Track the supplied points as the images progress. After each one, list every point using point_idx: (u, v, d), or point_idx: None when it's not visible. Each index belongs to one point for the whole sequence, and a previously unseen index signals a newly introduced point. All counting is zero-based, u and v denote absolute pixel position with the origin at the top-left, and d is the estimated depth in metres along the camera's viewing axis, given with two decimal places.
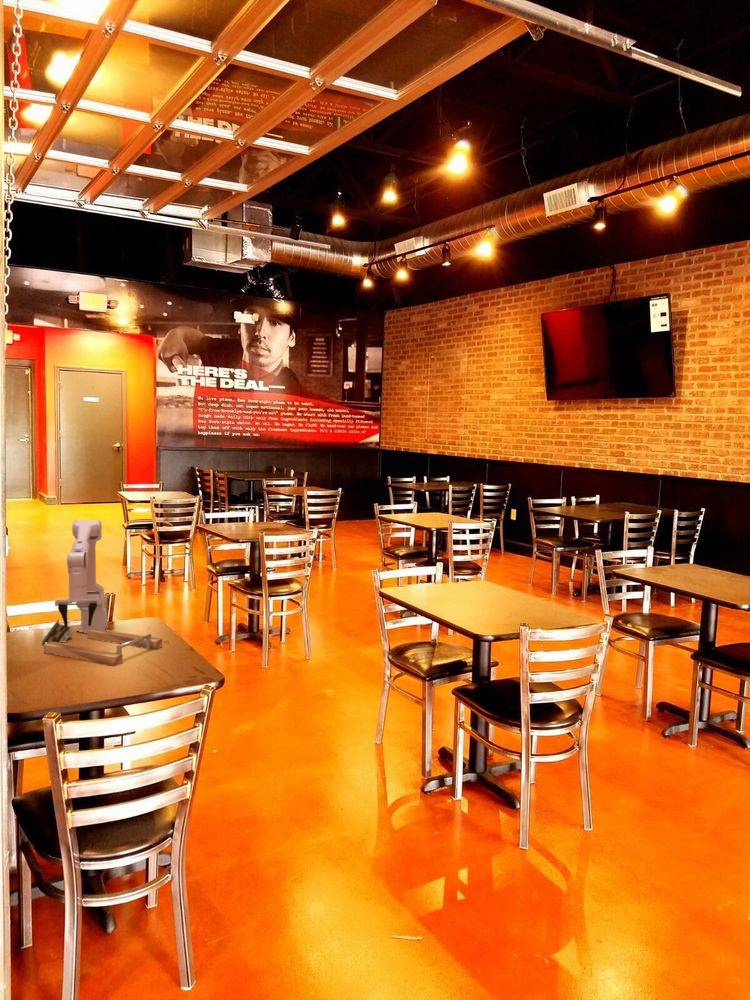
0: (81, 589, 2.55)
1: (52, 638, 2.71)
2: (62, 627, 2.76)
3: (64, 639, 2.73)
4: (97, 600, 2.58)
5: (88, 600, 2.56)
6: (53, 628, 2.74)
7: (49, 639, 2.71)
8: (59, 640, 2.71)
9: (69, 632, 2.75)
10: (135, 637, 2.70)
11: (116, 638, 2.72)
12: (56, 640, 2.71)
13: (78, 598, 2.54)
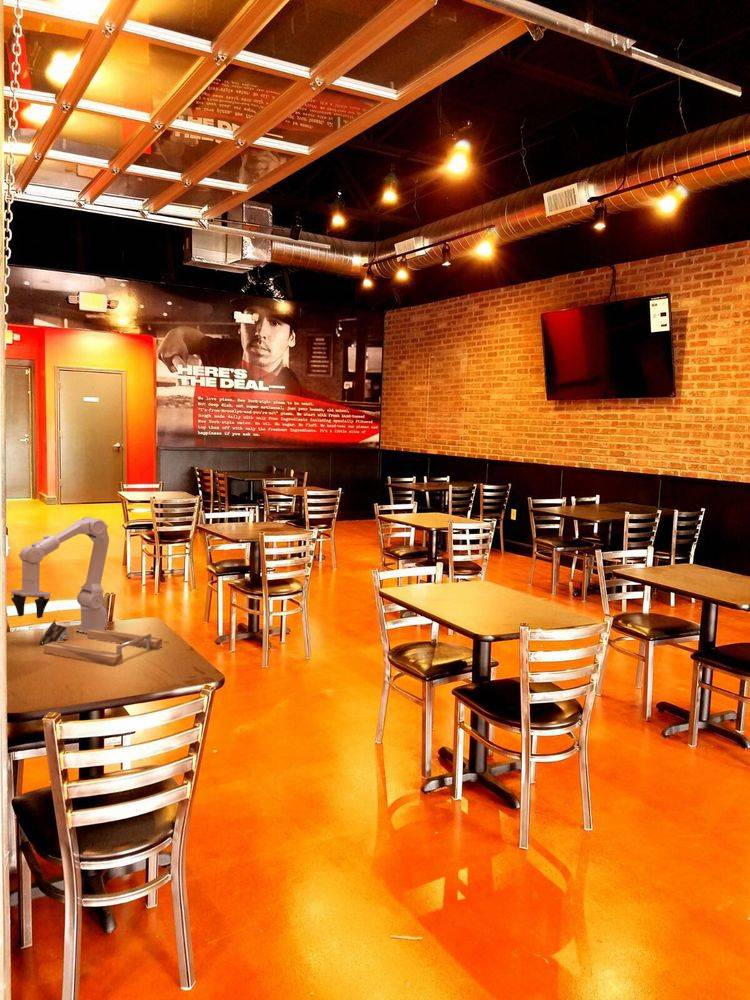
0: (30, 583, 2.65)
1: (49, 638, 2.71)
2: (59, 627, 2.76)
3: (61, 639, 2.72)
4: (44, 595, 2.66)
5: (36, 594, 2.66)
6: (50, 628, 2.73)
7: (46, 639, 2.70)
8: (56, 640, 2.71)
9: (66, 632, 2.75)
10: (135, 637, 2.70)
11: (116, 638, 2.72)
12: (53, 640, 2.71)
13: (26, 591, 2.65)
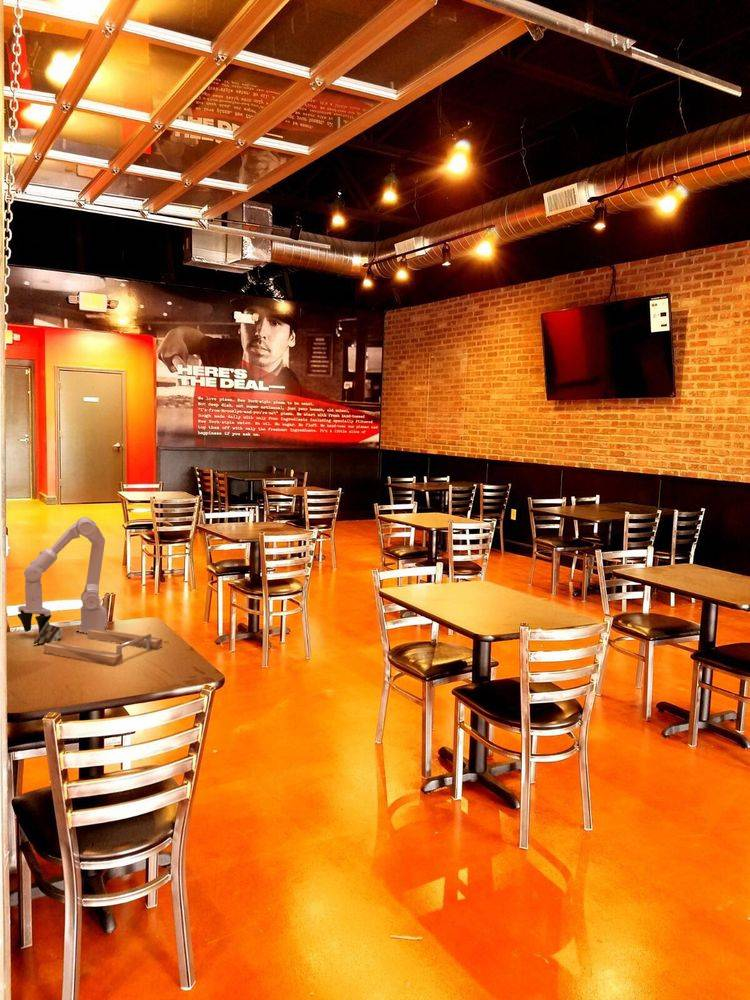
0: (31, 601, 2.75)
1: (43, 638, 2.70)
2: (52, 627, 2.75)
3: (55, 639, 2.72)
4: (44, 612, 2.75)
5: (37, 611, 2.75)
6: (44, 628, 2.73)
7: (40, 639, 2.70)
8: (50, 640, 2.70)
9: (60, 632, 2.75)
10: (135, 637, 2.70)
11: (116, 638, 2.72)
12: (47, 640, 2.70)
13: (28, 609, 2.75)
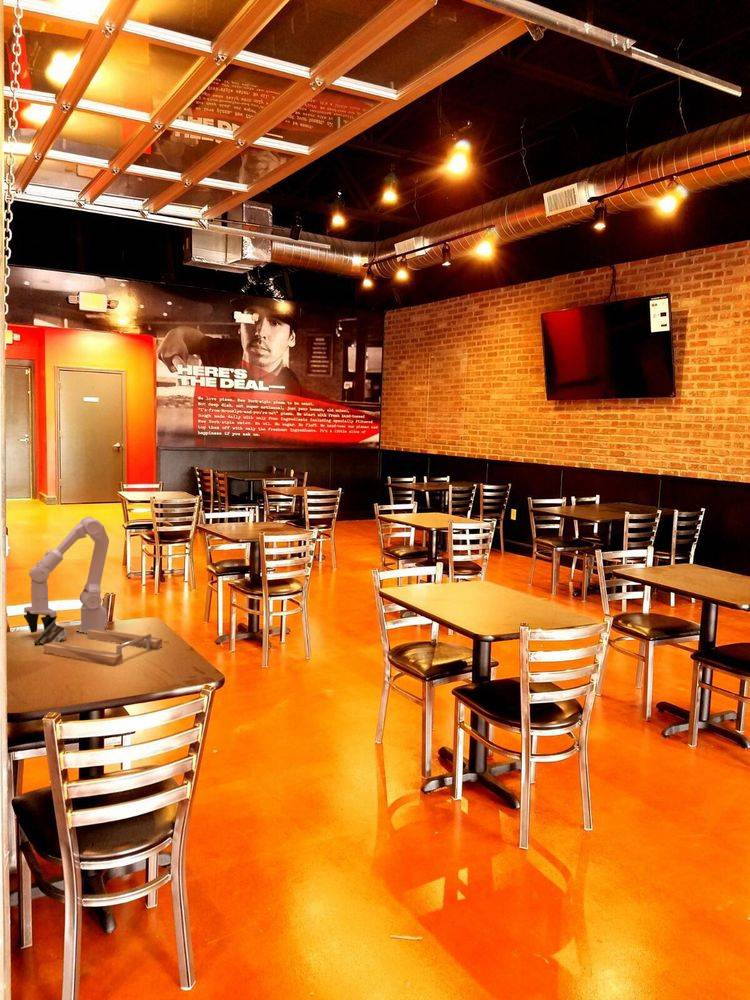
0: (37, 602, 2.74)
1: (45, 638, 2.70)
2: (57, 628, 2.75)
3: (57, 640, 2.71)
4: (50, 613, 2.74)
5: (43, 612, 2.74)
6: (48, 628, 2.73)
7: (42, 639, 2.70)
8: (51, 641, 2.70)
9: (63, 633, 2.74)
10: (135, 637, 2.70)
11: (116, 638, 2.72)
12: (48, 640, 2.70)
13: (34, 610, 2.74)
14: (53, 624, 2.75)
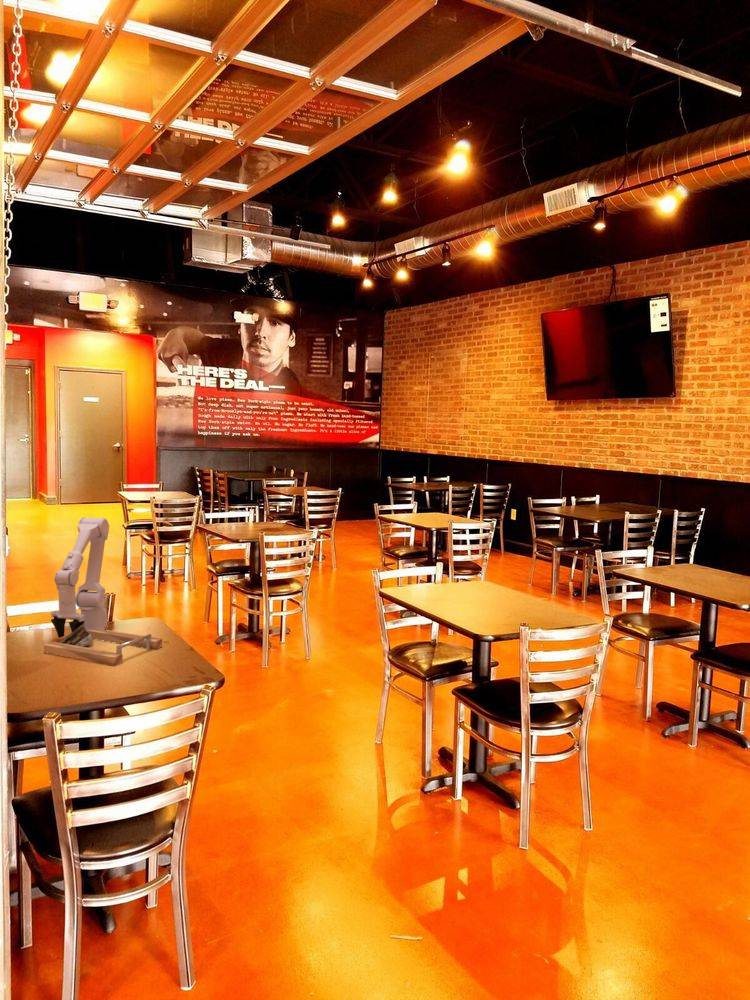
0: (65, 606, 2.68)
1: (69, 642, 2.65)
2: (83, 632, 2.68)
3: (79, 645, 2.65)
4: (78, 618, 2.68)
5: (71, 617, 2.68)
6: (74, 632, 2.68)
7: (66, 643, 2.65)
8: None
9: (87, 638, 2.67)
10: (135, 637, 2.70)
11: (116, 638, 2.72)
12: None
13: (62, 614, 2.69)
14: (80, 628, 2.70)
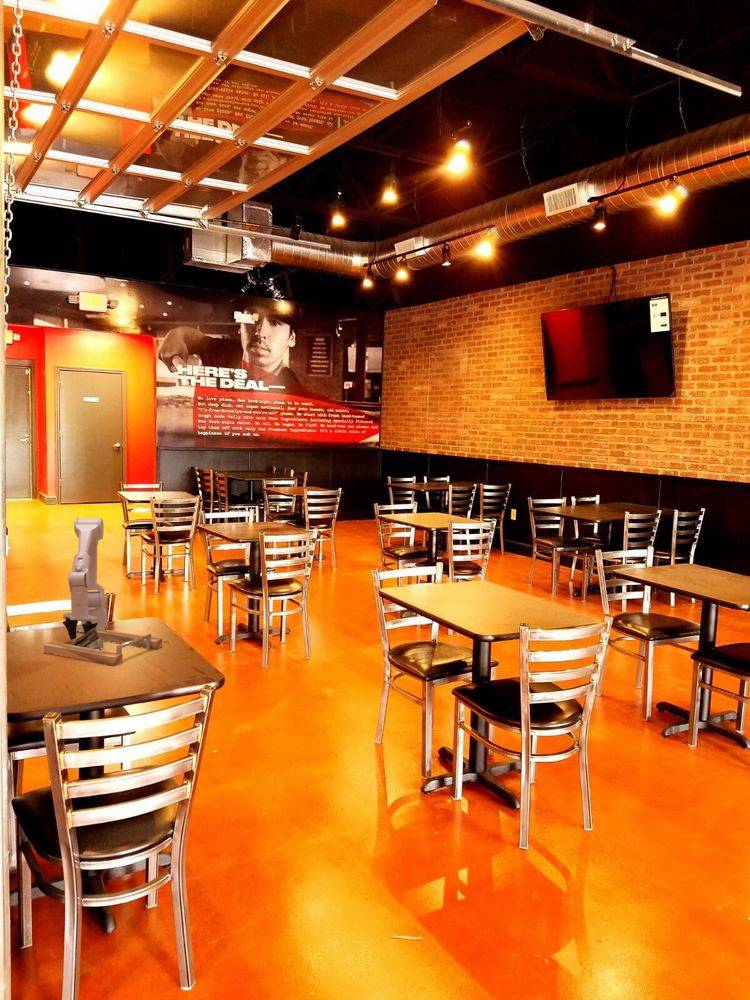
0: (77, 608, 2.66)
1: None
2: (93, 636, 2.65)
3: None
4: (91, 620, 2.65)
5: (83, 619, 2.66)
6: (84, 636, 2.65)
7: None
8: None
9: (96, 642, 2.63)
10: (135, 637, 2.70)
11: (116, 638, 2.72)
12: None
13: (75, 616, 2.66)
14: (91, 632, 2.66)
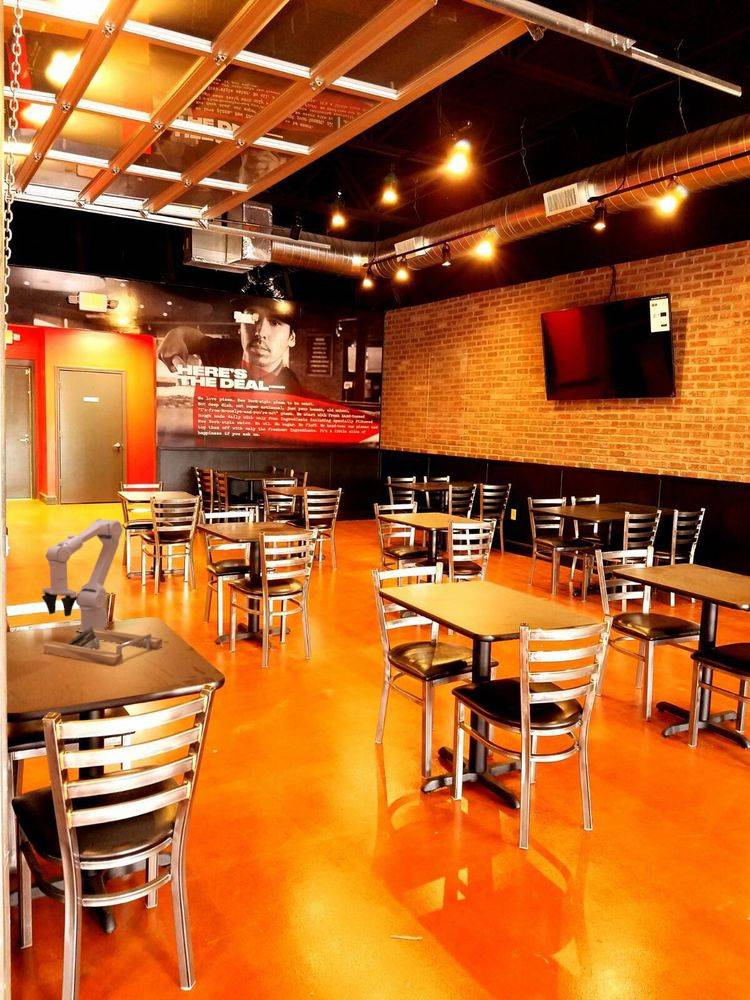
0: (56, 582, 2.69)
1: (75, 645, 2.63)
2: (90, 635, 2.66)
3: None
4: (70, 594, 2.69)
5: (62, 593, 2.69)
6: (81, 635, 2.65)
7: None
8: None
9: (93, 642, 2.64)
10: (135, 637, 2.70)
11: (116, 638, 2.72)
12: None
13: (54, 590, 2.70)
14: (88, 631, 2.67)
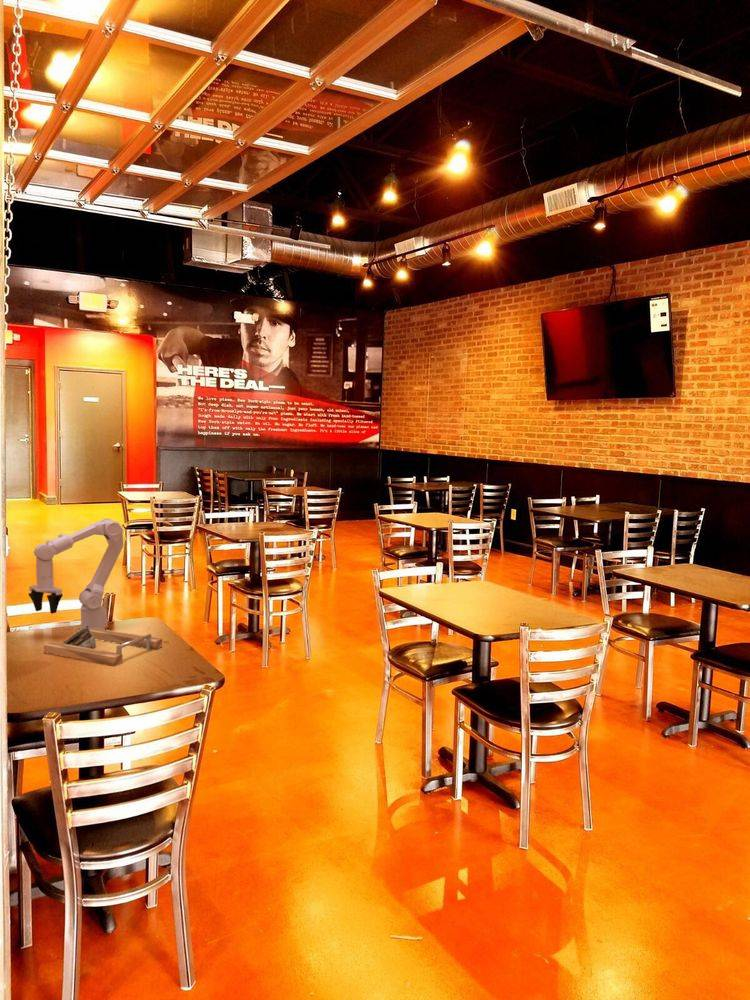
0: (42, 580, 2.73)
1: (71, 644, 2.64)
2: (86, 634, 2.67)
3: None
4: (56, 591, 2.73)
5: (48, 590, 2.73)
6: (77, 634, 2.66)
7: None
8: None
9: (89, 641, 2.65)
10: (135, 637, 2.70)
11: (116, 638, 2.72)
12: None
13: (40, 588, 2.74)
14: (84, 630, 2.68)
